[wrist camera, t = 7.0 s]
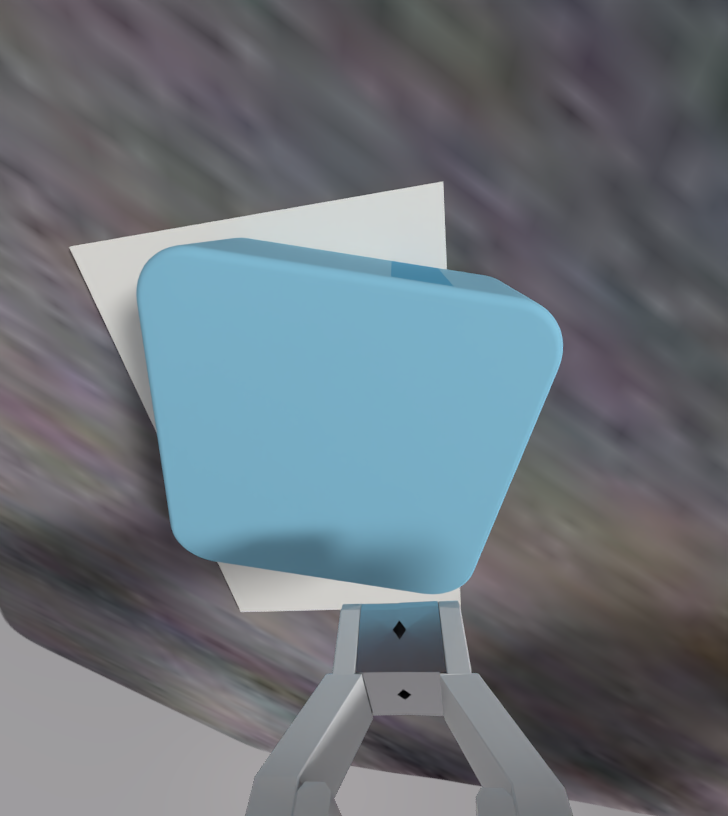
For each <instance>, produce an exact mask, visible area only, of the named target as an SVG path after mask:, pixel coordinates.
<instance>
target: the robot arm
mask: <svg viewBox="0 0 728 816" xmlns="http://www.w3.org/2000/svg"><path fill="white" fill-rule="evenodd" d="M372 715H428V716H444V719H445V721H446V723H447V725H448V726H449V728H450V730H451V732H452V734H453V735H454V737H455V739H456V741H457V742H458V744H459V746H460V748H461V750H462V751H463V753H464V755H465V757H466V759H467V760H468V762H469V764H470V766H471V767H472V769H473V771H474V773H475V775H476V776H477V778H478V780H479V782H480V784H481V785H482V787H483V788H481V789H480V791H479V793H478V794H477V796H476V816H573V814H572V810H571V807H570V804H569V800H568V797H567V794H566V790H565V788H564V787H563V785H562V784H561V783H560V781H559V780H558V779H557V777H556V776H555V775H554V773H553V772H552V771H551V769H550V768H549V767H548V765H547V764H546V763H545V761H544V760H543V759H542V757H541V756H540V755H539V753H538V752H537V751H536V749H535V748H534V747H533V745H532V744H531V743H530V741H529V740H528V739H527V737H526V736H525V735H524V733H523V732H522V731H521V729H520V728H519V727H518V725H517V724H516V723H515V721H514V720H513V719H512V717H511V716H510V715H509V714H508V712H507V711H506V710H505V708H504V707H503V706H502V704H501V703H500V702H499V700H498V699H497V698H496V696H495V695H494V694H493V692H492V691H491V690H490V688H489V687H488V686H487V684H486V683H485V682H484V680H483V679H482V678H481V676H480V675H479V674H478V673H472V671H471V665H470V660H469V654H468V648H467V642H466V637H465V631H464V625H463V620H462V614H461V608H460V604H459V602H458V601H439V602H438V601H425V602H404V603H383V604H343V605H342V608H341V611H340V618H339V626H338V633H337V641H336V648H335V656H334V663H333V670H332V674H326V675H325V677H324V678H323V679H322V681H321V682H320V684H319V685H318V687H317V688H316V689H315V691H314V692H313V694H312V695H311V697H310V698H309V700H308V701H307V702H306V704H305V705H304V707H303V708H302V710H301V711H300V712H299V714H298V715H297V717H296V718H295V720H294V721H293V723H292V724H291V725H290V727H289V728H288V730H287V731H286V733H285V734H284V735H283V737H282V738H281V740H280V741H279V743H278V744H277V746H276V747H275V748H274V750H273V751H272V753H271V754H270V756H269V757H268V758H267V760H266V761H265V763H264V764H263V766H262V767H261V768H260V770H259V772H258V773H257V774H256V776H255V778H254V782H253V786H252V790H251V794H250V798H249V802H248V806H247V810H246V814H245V816H342V815H341V813H340V811H339V808H338V806H337V804H336V802H335V799H334V798H335V796H336V794H337V792H338V790H339V788H340V786H341V783H342V781H343V779H344V777H345V775H346V773H347V771H348V769H349V767H350V765H351V763H352V761H353V759H354V757H355V755H356V753H357V751H358V748H359V746H360V744H361V742H362V740H363V738H364V736H365V734H366V732H367V730H368V728H369V726H370V724H371V722H372V720H373V716H372Z"/></svg>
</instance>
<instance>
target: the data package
mask: <svg viewBox="0 0 728 816" xmlns="http://www.w3.org/2000/svg"><path fill="white" fill-rule="evenodd" d="M136 297H137V306H138V313H139V319H140V326H141V332H142V339H143V346H144V352H145V359H146V365H147V372H148V378H149V385H150V392H151V398H152V405H153V411H154V418H155V425H156V431H157V438H158V444H159V451H160V457H161V464H162V471H163V477H164V484H165V490H166V497H167V504H168V510H169V517H170V523H171V528H172V532H173V534H174V536H175V538H176V539H177V540H178V542H179V543H180V544H181V545H182V546H183V547H184V548H185V549H186V550H188V551H189V552H191V553H192V554H194V555H196V556H198V557H201V558H203V559H206V560H210V561H215V562H222V563H228V564H235V565H241V566H248V567H254V568H261V569H267V570H273V571H280V572H286V573H293V574H299V575H306V576H312V577H319V578H325V579H331V580H338V581H344V582H351V583H357V584H364V585H370V586H377V587H383V588H389V589H396V590H402V591H409V592H415V593H422V594H442V593H446V592H450V591H453V590H455V589H457V588H459V587H461V586H462V585H463V584H465V583H466V582H467V581H468V580H469V578H470V577H471V576H472V574H473V572H474V569H475V567H476V564H477V562H478V560H479V557H480V555H481V552H482V550H483V548H484V545H485V543H486V541H487V538H488V536H489V533H490V531H491V529H492V526H493V524H494V521H495V519H496V517H497V514H498V512H499V509H500V507H501V505H502V502H503V500H504V497H505V495H506V493H507V490H508V488H509V486H510V483H511V481H512V478H513V476H514V474H515V471H516V469H517V466H518V464H519V462H520V459H521V457H522V454H523V452H524V450H525V447H526V445H527V443H528V440H529V438H530V435H531V433H532V431H533V428H534V426H535V423H536V421H537V419H538V416H539V414H540V411H541V409H542V407H543V404H544V402H545V399H546V397H547V395H548V392H549V390H550V388H551V385H552V383H553V380H554V378H555V376H556V373H557V371H558V368H559V365H560V363H561V359H562V354H563V340H562V335H561V331H560V328H559V326H558V324H557V322H556V320H555V319H554V317H553V316H552V315H551V314H550V313H549V311H548V310H546V309H545V308H544V307H543V306H541V305H540V304H538V303H536V302H535V301H533V300H531V299H530V298H528V297H526V296H524V295H523V294H521V293H519V292H518V291H516V290H514V289H513V288H511V287H509V286H508V285H506V284H504V283H503V282H501V281H499V280H497V279H495V278H493V277H489V276H485V275H479V274H472V273H466V272H460V271H453V270H447V269H441V268H434V267H428V266H421V265H415V264H409V263H402V262H396V261H390V260H383V259H377V258H371V257H364V256H358V255H352V254H345V253H339V252H332V251H326V250H320V249H313V248H307V247H301V246H294V245H288V244H282V243H275V242H269V241H262V240H256V239H250V238H230V239H223V240H215V241H207V242H199V243H192V244H184V245H176V246H172V247H168V248H166V249H163V250H161V251H159V252H158V253H156V254H155V255H153V256H152V257H151V258H150V259H149V260H148V261H147V263H146V264H145V265H144V267H143V269H142V271H141V273H140V275H139V278H138V282H137V290H136Z"/></svg>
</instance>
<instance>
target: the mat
mask: <svg viewBox="0 0 728 816" xmlns="http://www.w3.org/2000/svg"><path fill="white" fill-rule="evenodd" d="M230 238H250V239H256V240H262V241H269V242H275V243H282V244H288V245H294V246H301V247H307V248H313V249H320V250H326V251H332V252H339V253H345V254H352V255H358V256H364V257H371V258H377V259H383V260H390V261H396V262H402V263H409V264H415V265H421V266H428V267H434V268H441V269H447V264H446V240H445V215H444V191H443V182H438V183H432V184H426V185H421V186H415V187H409V188H403V189H398V190H392V191H386V192H380V193H375V194H369V195H363V196H358V197H352V198H346V199H340V200H335V201H329V202H323V203H317V204H312V205H306V206H300V207H295V208H289V209H283V210H277V211H272V212H266V213H260V214H254V215H249V216H243V217H237V218H232V219H226V220H220V221H214V222H209V223H203V224H197V225H191V226H186V227H180V228H174V229H169V230H163V231H157V232H151V233H146V234H140V235H134V236H128V237H123V238H117V239H111V240H106V241H100V242H94V243H88V244H83V245H77V246H71V247H69V248H70V250H71V252H72V254H73V256H74V258H75V260H76V263H77V265H78V267H79V269H80V271H81V273H82V275H83V277H84V280H85V282H86V284H87V286H88V288H89V290H90V292H91V294H92V297H93V299H94V301H95V303H96V305H97V307H98V309H99V311H100V314H101V316H102V318H103V320H104V322H105V324H106V326H107V328H108V331H109V333H110V335H111V337H112V339H113V341H114V343H115V345H116V348H117V350H118V352H119V354H120V356H121V358H122V360H123V362H124V365H125V367H126V369H127V371H128V373H129V375H130V377H131V379H132V382H133V384H134V386H135V388H136V390H137V392H138V394H139V396H140V399H141V401H142V403H143V405H144V407H145V409H146V411H147V413H148V416H149V418H150V420H151V422H152V424H153V426H154V428H155V430H156V425H155V418H154V411H153V405H152V398H151V392H150V385H149V378H148V372H147V365H146V359H145V352H144V346H143V339H142V332H141V326H140V319H139V313H138V306H137V297H136V290H137V282H138V278H139V275H140V273H141V271H142V269H143V267H144V265H145V264H146V263H147V261H148V260H149V259H150V258H151V257H152V256H153V255H155V254H156V253H158V252H159V251H161V250H163V249H166V248H168V247H172V246H176V245H184V244H192V243H199V242H207V241H215V240H223V239H230ZM156 433H157V431H156ZM218 564H219V566H220V569H221V571H222V573H223V575H224V577H225V579H226V581H227V583H228V586H229V588H230V590H231V592H232V594H233V596H234V598H235V600H236V603H237V605H238V607H239V609H240V611H241V612H262V611H300V610H338V609H341V608H342V605H343V604H383V603H404V602H425V601H438V602H439V601H458V602H459V604H460V606H461V601H460V587H459V588H457V589H455V590H453V591H450V592H446V593H442V594H422V593H415V592H409V591H402V590H396V589H389V588H383V587H377V586H370V585H364V584H357V583H351V582H344V581H338V580H331V579H325V578H319V577H312V576H306V575H299V574H293V573H286V572H280V571H273V570H267V569H261V568H254V567H248V566H241V565H235V564H228V563H222V562H218Z"/></svg>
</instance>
